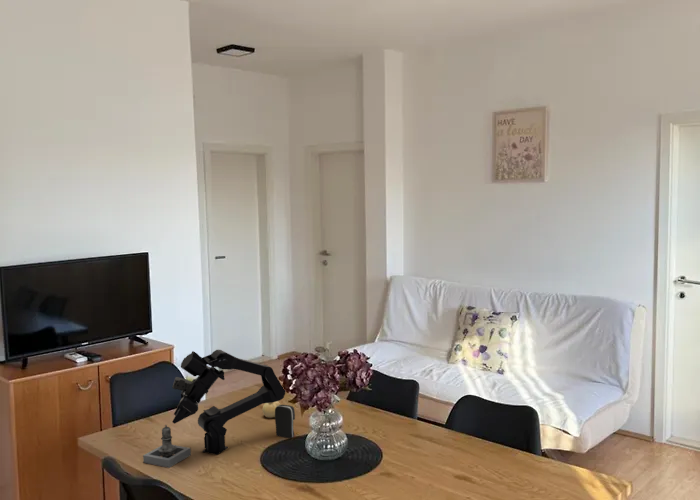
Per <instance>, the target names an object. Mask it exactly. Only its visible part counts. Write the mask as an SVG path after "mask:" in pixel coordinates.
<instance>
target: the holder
mask: <svg viewBox="0 0 700 500" xmlns="http://www.w3.org/2000/svg"><path fill="white" fill-rule="evenodd" d="M172 445H173V446H175V447H176V449H175V453H174V454H173V456H171V457H169V458H165V457H162V456H161V455H160V453H159V451H158V449H159V448H160V447H162V445H160V446H158V447H156V448H154V449H152V450H151V451H149V452H147V453H145V454H143V455H142V457H143V458H142V459H143V461H142V462H143V463H144V464H148V465H154V466H157V467H158V466H159V467H163V468H169V469H170V468H171V467H173V466H175V465H177V464H178V463H180V462H182V461H183V460H186V459H187V458H188V457H190V456H192V452H191V451H192V448H191V447H187V446H181V445H176V444H172Z"/></svg>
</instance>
